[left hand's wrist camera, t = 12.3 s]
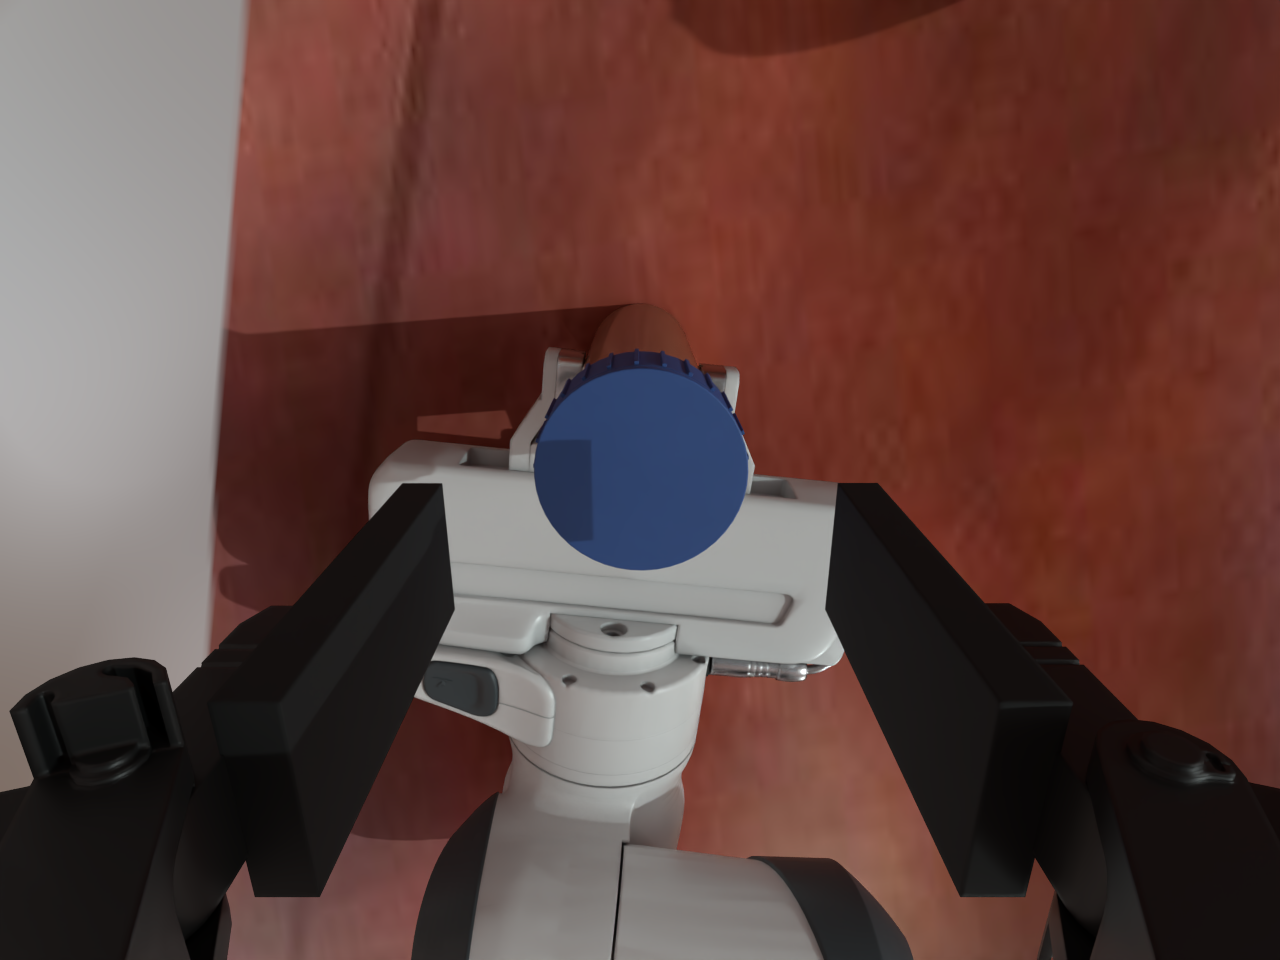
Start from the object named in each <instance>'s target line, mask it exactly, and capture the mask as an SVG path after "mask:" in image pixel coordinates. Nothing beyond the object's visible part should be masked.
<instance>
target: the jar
mask: <svg viewBox="0 0 1280 960" xmlns="http://www.w3.org/2000/svg"><path fill="white" fill-rule="evenodd" d="M635 349H639V351H646V352H656V353H660V352H661V351H665V354H666V355H669V356H673V357H676V358H678V359H681V360H683V361H684V360H685V359H687V360H689V363H690V364H691V365H692V366H694V367H695V368H697V369H698V370H699V368H698V366H697V363H696V360H695V358H694V355H693V353H692V350H691V348H690V345H689V343H688V340H687V337H686V335H685V333H684V331H683V329H682V327H681V325H680V324H679V322H678V321H677V320H676V319H675V318H674V317H673V316H672V315H671V314H669V313H668V312H666V311H665V310H663V309H661V308H659V307H656V306H653V305H649V304H631V305H627V306H624V307H621V308H619V309H617V310H615V311H614V312H612V313H611V314H610V315H609V316H607V317H606V318H605V319H604V321H603V322H602V323H601V324H600V326H599V328H598V329H597V331H596V334H595V336H594V339H593V341H592V344H591V347H590V349H589V352H588V355H587V357H586V360H585V363H584V365H583V368H582V370H584V369H585V366H586V364H588V363H590V365H591V364H593V363H595V362H597V361H599V360H601V359H604V358H607V357H609V354H610V353H613V354H614V355H616V354H620V353H625V352H635Z"/></svg>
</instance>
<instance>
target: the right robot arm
mask: <svg viewBox="0 0 1280 960" xmlns="http://www.w3.org/2000/svg"><path fill="white" fill-rule="evenodd" d="M585 359H586V351H580V350H572V349H564V348H555V347H549V348H548V349H547V351H546V353H545V359H544V367H543V383H542V393H541V394H540V396H539V397H538V398H537V400H536V401H535V403H534V404H533V406H532V407H531V409H530V410H529V412H528V413H527V414H526V416H525V417H524V419H523V420H522V422H521V423H520V425H519V426H518V428H517V429H516V431H515V433H514V435H513V436H512V438H511V440H510V449H505V448H495V447H485V446H476V445H466V444H456V443H446V442H436V441H427V440H410V441H407V442H405V443H404V444H403V445H401V446H400V447H399V448H398V449H397V450H395V451H394V452H393V453H392V454H390V455H389V456H388V457H387V458H386V459H385V460H384V461H383V463H382V464H381V465H380V466H379V467H378V468H377V469H376V471H375V472H374V474H373V476H372V478H371V481H370V484H369V490H368V510H369V520H370V519H371V518H372V517H373V516H374V514H375V513H376V512H377V511H378V510H379V509H380V508H381V507H382V505H383V504H384V503H385V502H386V501H387V500H388V499H389V498H390V496H391V495H392V494H393V493H394V492H395V491H396V490H397V489H398V487H399V486H400V485H401V484H402V483H442V485H443V495H444V505H445V515H446V525H447V535H448V544H449V554H450V564H451V574H452V584H453V594H454V604H455V611H454V613H453V615H452V617H451V619H450V621H449V623H448V625H447V628H446V630H445V632H444V634H443V636H442V638H441V640H440V642H439V645H438V647H437V649H436V651H435V653H434V655H433V657H432V659H431V662H430V664H429V666H428V668H427V670H426V672H425V674H424V676H423V679H422V681H421V683H420V685H419V687H418V689H417V691H416V693H415V696H414V697H415V698H418V699H421V700H423V701H426V702H429V703H432V704H435V705H437V706H440V707H443V708H446V709H448V710H451V711H454V712H456V713H459V714H462V715H464V716H467V717H469V718H472V719H474V720H476V721H479V722H481V723H484V724H486V725H488V726H490V727H492V728H494V729H496V730H499V731H501V732H503V733H504V734H506V735H508V736H509V739H510V743H511V747H512V753H513V760H512V762H511V764H510V766H509V769H508V771H507V774H506V777H505V782H504V787H503V792H502V793H499V792H497V793H495V794H494V795H492V796H491V797H490V798H488V799H487V800H486V801H485V802H484V803H483V804H481V805H480V806H479V807H478V808H477V809H476V810H475V811H474V812H473V814H472V815H471V816H470V817H469V818H468V819H467V820H466V821H465V822H464V823H463V824H462V825H461V827H460V828H459V829H458V830H457V831H456V832H455V833H454V834H453V835H452V837H451V838H450V839H449V841H448V842H447V844H446V846H445V847H444V849H443V851H442V853H441V854H440V856H439V858H438V860H437V862H436V864H435V867H434V869H433V871H432V874H431V876H430V879H429V882H428V885H427V888H426V891H425V894H424V897H423V901H422V904H421V908H420V912H419V916H418V920H417V925H416V930H415V936H414V942H413V949H412V958H411V960H913V956H912V953H911V950H910V947H909V944H908V942H907V940H906V938H905V936H904V935H903V934H902V932H901V931H900V929H899V928H898V926H897V925H896V924H895V922H894V921H893V920H892V918H891V917H890V916H889V914H888V913H887V912H886V911H885V910H884V908H883V907H882V906H881V905H880V904H879V902H878V901H877V900H876V899H875V898H874V897H873V896H872V895H871V894H870V893H869V892H868V891H867V890H866V889H865V888H864V887H863V886H862V884H861V883H860V882H859V881H858V880H857V879H856V878H854V877H853V876H852V875H851V874H850V873H849V872H848V871H847V870H846V869H845V868H844V867H842V866H841V865H840V864H839V863H838V862H836V861H835V860H832V859H829V858H801V857H769V856H751V857H749V858H738V857H730V856H722V855H714V854H706V853H698V852H690V851H683V850H676V849H677V845H678V840H679V835H680V830H681V825H682V819H683V813H684V790H683V784H682V779H681V773H682V771H683V770H684V768H685V766H686V764H687V762H688V760H689V758H690V756H691V754H692V751H693V748H694V744H695V740H696V734H697V728H698V722H699V716H700V710H701V704H702V698H703V692H704V686H705V678H706V676H708V675H719V676H730V677H767V678H775V679H776V680H779V681H785V682H798V681H804V680H805V679H806V677H807V675H808V674H815V673H818V672H821V671H823V670H826V669H827V668H829V667H831V666H833V665H835V664H837V663H838V662H839V660H840V659H841V657H842V655H843V653H844V649H843V647H842V645H841V642H840V640H839V638H838V636H837V634H836V632H835V630H834V628H833V625H832V623H831V621H830V619H829V617H828V615H827V613H826V611H825V604H826V594H827V584H828V574H829V564H830V554H831V544H832V534H833V525H834V515H835V505H836V495H837V485H838V483H836V482H827V481H817V480H807V479H797V478H788V477H778V476H768V475H759V474H753V473H754V467H755V465H754V463H753V460H752V458H751V455H750V453H749V450H748V448H747V445H746V443H745V445H746V451H747V453H748V455H749V460H748V471H749V472H748V482H747V488H746V492H745V496H744V500H743V502H742V505H741V507H740V510H739V512H738V514H737V515H736V517H735V519H734V521H733V522H732V524H731V525H730V526H729V528H728V529H727V530H726V532H725V533H724V534H723V535H722V536H721V537H720V538H719V539H718V540H717V541H716V542H715V543H714V544H713V545H711V546H710V547H709V548H708V549H707V550H705V551H704V552H702V553H700V554H699V555H697V556H696V557H694V558H692V559H689V560H687V561H685V562H683V563H680V564H677V565H674V566H671V567H667V568H662V569H657V570H645V571H641V570H626V569H620V568H615V567H611V566H608V565H604V564H602V563H599V562H597V561H595V560H592V559H590V558H589V557H587V556H585V555H583V554H582V553H580V552H579V551H577V550H576V549H575V548H573V547H572V546H570V545H569V544H568V543H567V542H566V541H565V540H564V539H563V538H562V537H561V536H560V535H559V534H558V533H557V531H556V530H555V529H554V528H553V526H552V525H551V523H550V522H549V520H548V519H547V517H546V515H545V513H544V511H543V509H542V507H541V504H540V502H539V499H538V495H537V492H536V487H535V480H534V468H533V464H534V459H535V451H536V447H537V444H538V443H536V438H537V436H538V434H539V432H540V430H541V429H540V428H541V426H542V425H543V423H544V421H546V418H545V415H546V413H547V411H548V409H549V407H550V405H551V403H552V400H553V399H554V398H555V399H557V398H558V396H559V395H560V393H561V391H562V390H563V388H564V386H565V383H566V381H567V380H568V379H569V378H570V379H571V380H572V379H573V378H574V377H575V376H576V375H577V374H578V373H580V372H581V371H582V368H583V365H584V363H585ZM698 368H699V370H700V371H701V372H702V373H703V374H706V373H708V374H709V375H710V377H711V379H712V382H713V383H714V384H715V385H716V386H717V388H718V389H719V390H720V392H723V391H724V392H725V394H726V396H727V398H728V400H729V402H730V404H731V406H732V408H733V411H732V414H733V413H735V406H736V400H737V393H738V387H739V371H738V370H737V368H736V367H731V366H722V365H711V364H700V363H699V366H698ZM539 429H540V430H539ZM742 436H743V435H742ZM743 439H744V438H743ZM744 442H745V440H744ZM807 664H812V665H807Z"/></svg>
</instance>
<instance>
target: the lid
mask: <svg viewBox="0 0 1280 960" xmlns="http://www.w3.org/2000/svg"><path fill="white" fill-rule="evenodd" d="M732 411H733V408H732V406H731V404H730V402H729V400H728V398H727V396H726V394H725V392H724V391H723V392H720V390H719V389H718V388H717V386H716V385H715V384H714V383H713V382H712V379H711V377H710V375H709V374H708V373H706V374H703V373H702V372H701V371H700V370H698V369H697V368H695V367H694V366H692V365H691V364H690V363H689V360H687V359H685V360H684V361H683V360H681V359H678V358H676V357H673V356H669V355H666V354H665V351H661V352H660V353H656V352H646V351H639V349H635V352H625V353H620V354H616V355H614V354H613V353H610V354H609V357H607V358H604V359H601V360H599V361H597V362H595V363H593V364H591V365H590V363H588V364H586V366H585V369H584V370H582V371H581V372H580V373H578V374H577V375H576V376H575V377H574V378H573V379H572V380H571V379H570V378H569V379H568V380H567V381H566V383H565V386H564V388H563V390H562V391H561V393H560V395H559V396H558V398H557V399H555V398H554V399H553V400H552V403H551V405H550V407H549V409H548V411H547V413H546V415H545V418H546V419H547V421H544V423H543V425H542V427H541V430H540V432H539V434H538V436H537V438H536V443H538V444H537V447H536V451H535V459H534V464H533V468H534V480H535V487H536V492H537V495H538V499H539V502H540V504H541V507H542V509H543V511H544V513H545V515H546V517H547V519H548V520H549V522H550V523H551V525H552V526H553V528H554V529H555V530H556V531H557V533H558V534H559V535H560V536H561V537H562V538H563V539H564V540H565V541H566V542H567V543H568V544H569V545H570V546H572V547H573V548H575V549H576V550H577V551H579V552H580V553H582V554H583V555H585V556H587V557H589V558H590V559H592V560H595V561H597V562H599V563H602V564H604V565H608V566H611V567H615V568H620V569H626V570H641V571H645V570H657V569H662V568H667V567H671V566H674V565H677V564H680V563H683V562H685V561H687V560H689V559H692V558H694V557H696V556H697V555H699V554H700V553H702V552H704V551H705V550H707V549H708V548H709V547H710V546H711V545H713V544H714V543H715V542H716V541H717V540H718V539H719V538H720V537H721V536H722V535H723V534H724V533H725V532H726V530H727V529H728V528H729V526H730V525H731V524H732V522H733V521H734V519H735V517H736V515H737V514H738V512H739V510H740V507H741V505H742V502H743V500H744V496H745V492H746V488H747V482H748V472H749V471H748V460H749V455H748V453H747V451H746V445H745V442H744V439H743V436H742V435H744V434H745V433H744V430H743V428H742V426H741V424H740V422H739V420H738V418H737V416H736V414H735V413H733V414H732Z"/></svg>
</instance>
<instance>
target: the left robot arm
mask: <svg viewBox="0 0 1280 960" xmlns="http://www.w3.org/2000/svg"><path fill="white" fill-rule="evenodd" d="M454 611H455V604H454V594H453V584H452V574H451V564H450V554H449V544H448V535H447V525H446V515H445V505H444V495H443V485H442V483H402V484H401V485H400V486H399V487H398V489H397V490H396V491H395V492H394V493H393V494H392V495H391V496H390V498H389V499H388V500H387V501H386V502H385V503H384V504H383V505H382V507H381V508H380V509H379V510H378V511H377V512H376V513H375V514H374V516H373V517H372V518H371V519H370V520H369V521H368V522H367V523H366V525H365V526H364V527H363V528H362V529H361V530H360V531H359V532H358V533H357V535H356V536H355V537H354V538H353V539H352V540H351V541H350V542H349V544H348V545H347V546H346V547H345V548H344V549H343V550H342V551H341V553H340V554H339V555H338V556H337V557H336V558H335V559H334V560H333V562H332V563H331V564H330V565H329V566H328V567H327V568H326V569H325V571H324V572H323V573H322V574H321V575H320V576H319V577H318V578H317V580H316V581H315V582H314V583H313V584H312V585H311V586H310V587H309V588H308V590H307V591H306V592H305V593H304V594H303V595H302V596H301V597H300V599H299V600H298V601H297V602H296V603H295V604H294V605H293V606H270V607H268V608H267V609H265V610H263V611H261V612H260V613H258V614H256V615H254V616H253V617H251V618H249V619H247V620H246V621H244V622H242V623H240V624H239V625H238V626H237V627H236V628H235V629H234V630H233V631H232V632H231V633H230V634H229V635H228V636H227V637H226V638H225V639H224V640H223V642H222V643H221V644H220V645H219V649H215V650H214V651H213V652H212V653H211V654H210V655H209V656H208V657H207V658H206V659H205V660H204V661H203V662H202V666H201V667H197V668H196V669H195V670H194V671H193V672H192V673H191V674H190V675H189V676H188V677H187V678H186V679H185V680H184V681H183V682H182V683H181V684H180V685H179V686H178V687H177V688H176V689H175V690H174V691H173V692H172V689H171V685H170V682H169V678H168V674H167V670H166V668H165V667H164V666H162V665H161V664H159V663H158V662H156V661H155V660H149V659H142V658H123V659H113V660H107V661H102V662H99V663H95V664H91V665H87V666H83V667H79V668H77V669H74V670H72V671H70V672H67V673H65V674H62V675H60V676H58V677H55V678H53V679H50V680H49V681H47V682H45V683H44V684H42V685H40V686H39V687H37V688H36V689H34V690H32V691H31V692H29V693H28V694H26V695H25V696H24V697H23V698H22V699H21V700H20V701H19V702H18V703H17V704H16V705H15V706H14V707H13V708H12V709H11V710H10V714H11V717H12V719H13V722H14V725H15V728H16V730H17V733H18V736H19V739H20V741H21V744H22V747H23V750H24V753H25V755H26V758H27V761H28V764H29V766H30V769H31V772H32V775H33V777H34V780H33V781H32V783H31V785H30V786H28V787H23V788H18V789H13V790H9V791H4V792H0V960H227V955H228V947H229V940H230V933H231V926H232V922H231V914H230V907H229V903H228V900H227V896H226V892H227V890H228V888H229V887H230V885H231V883H232V882H233V880H234V878H235V877H236V875H237V874H238V872H239V870H240V869H241V867H242V865H243V864H244V862H245V861H246V863H247V867H248V871H249V875H250V879H251V883H252V887H253V891H254V895H255V897H320V895H321V893H322V891H323V889H324V887H325V885H326V883H327V880H328V878H329V876H330V874H331V872H332V870H333V868H334V866H335V863H336V861H337V859H338V857H339V855H340V853H341V851H342V849H343V846H344V844H345V842H346V840H347V838H348V836H349V834H350V832H351V829H352V827H353V825H354V823H355V821H356V819H357V817H358V815H359V812H360V810H361V808H362V806H363V804H364V802H365V800H366V798H367V795H368V793H369V791H370V789H371V787H372V785H373V783H374V781H375V778H376V776H377V774H378V772H379V770H380V768H381V766H382V764H383V761H384V759H385V757H386V755H387V753H388V751H389V749H390V747H391V744H392V742H393V740H394V738H395V736H396V734H397V732H398V730H399V727H400V725H401V723H402V721H403V719H404V717H405V715H406V713H407V710H408V708H409V706H410V704H411V702H412V700H413V698H414V696H415V693H416V691H417V689H418V687H419V685H420V683H421V681H422V679H423V676H424V674H425V672H426V670H427V668H428V666H429V664H430V662H431V659H432V657H433V655H434V653H435V651H436V649H437V647H438V645H439V642H440V640H441V638H442V636H443V634H444V632H445V630H446V628H447V625H448V623H449V621H450V619H451V617H452V615H453V613H454ZM825 611H826V613H827V615H828V617H829V619H830V621H831V623H832V625H833V628H834V630H835V632H836V634H837V636H838V638H839V640H840V642H841V645H842V647H843V649H844V651H845V653H846V655H847V657H848V659H849V662H850V664H851V666H852V668H853V670H854V672H855V674H856V676H857V679H858V681H859V683H860V685H861V687H862V689H863V691H864V693H865V696H866V698H867V700H868V702H869V704H870V706H871V708H872V710H873V713H874V715H875V717H876V719H877V721H878V723H879V725H880V727H881V730H882V732H883V734H884V736H885V738H886V740H887V742H888V744H889V747H890V749H891V751H892V753H893V755H894V757H895V759H896V761H897V764H898V766H899V768H900V770H901V772H902V774H903V776H904V778H905V781H906V783H907V785H908V787H909V789H910V791H911V793H912V795H913V798H914V800H915V802H916V804H917V806H918V808H919V810H920V812H921V815H922V817H923V819H924V821H925V823H926V825H927V827H928V829H929V832H930V834H931V836H932V838H933V840H934V842H935V844H936V846H937V849H938V851H939V853H940V855H941V857H942V859H943V861H944V863H945V866H946V868H947V870H948V872H949V874H950V876H951V878H952V880H953V883H954V885H955V887H956V889H957V891H958V893H959V895H960V897H1025V895H1026V891H1027V887H1028V883H1029V879H1030V875H1031V871H1032V867H1033V863H1034V859H1035V858H1036V860H1037V862H1038V863H1039V865H1040V866H1041V868H1042V870H1043V871H1044V873H1045V875H1046V876H1047V878H1048V879H1049V881H1050V883H1051V884H1052V886H1053V888H1054V889H1055V892H1054V896H1053V900H1052V903H1051V907H1050V911H1049V915H1048V918H1047V922H1046V926H1045V930H1044V933H1043V937H1042V941H1041V945H1040V948H1039V952H1038V957H1037V960H1051V958H1052V957H1053V960H1280V789H1278V788H1273V787H1269V786H1264V785H1259V784H1254V783H1250V782H1248V780H1247V778H1246V777H1245V776H1244V774H1243V773H1242V772H1241V771H1240V769H1239V768H1238V767H1237V766H1236V765H1235V763H1234V762H1233V761H1232V760H1231V759H1230V758H1228V757H1227V756H1225V755H1224V754H1223V753H1221V752H1220V751H1219V750H1217V749H1216V748H1214V747H1213V746H1212V745H1210V744H1209V743H1207V742H1205V741H1203V740H1201V739H1198V738H1196V737H1194V736H1192V735H1190V734H1188V733H1186V732H1184V731H1182V730H1179V729H1176V728H1172V727H1169V726H1166V725H1162V724H1159V723H1156V722H1150V721H1141V720H1138V719H1137V718H1136V717H1135V716H1134V715H1133V714H1132V713H1131V712H1130V711H1129V710H1128V709H1127V708H1126V707H1125V706H1124V705H1123V704H1122V703H1121V702H1120V701H1119V700H1118V699H1117V698H1116V697H1115V696H1114V695H1113V694H1112V693H1111V692H1110V691H1109V690H1108V689H1107V688H1106V687H1105V686H1104V685H1103V684H1102V683H1101V682H1100V681H1099V680H1098V679H1097V678H1096V677H1095V676H1094V675H1093V674H1092V673H1091V672H1090V671H1089V670H1088V669H1087V668H1086V667H1085V666H1084V665H1080V664H1079V660H1078V659H1077V658H1076V657H1075V656H1074V655H1073V654H1072V653H1071V651H1070V650H1069V649H1068V648H1067V647H1062V642H1061V641H1060V640H1059V639H1058V638H1057V637H1056V636H1055V635H1054V634H1053V633H1052V632H1051V631H1050V630H1049V629H1048V628H1047V627H1046V626H1045V625H1044V624H1043V623H1042V622H1041V621H1039V620H1037V619H1036V618H1034V617H1032V616H1030V615H1029V614H1027V613H1025V612H1023V611H1022V610H1020V609H1018V608H1016V607H1015V606H1013V605H1011V604H1009V603H984V602H983V601H982V600H981V599H980V597H979V596H978V595H977V594H976V593H975V592H974V591H973V590H972V588H971V587H970V586H969V585H968V584H967V583H966V582H965V581H964V580H963V578H962V577H961V576H960V575H959V574H958V573H957V572H956V571H955V569H954V568H953V567H952V566H951V565H950V564H949V563H948V562H947V560H946V559H945V558H944V557H943V556H942V555H941V554H940V553H939V551H938V550H937V549H936V548H935V547H934V546H933V545H932V544H931V542H930V541H929V540H928V539H927V538H926V537H925V536H924V535H923V533H922V532H921V531H920V530H919V529H918V528H917V527H916V526H915V525H914V523H913V522H912V521H911V520H910V519H909V518H908V517H907V516H906V514H905V513H904V512H903V511H902V510H901V509H900V508H899V507H898V505H897V504H896V503H895V502H894V501H893V500H892V499H891V498H890V496H889V495H888V494H887V493H886V492H885V491H884V490H883V489H882V487H881V486H880V485H879V484H878V483H838V485H837V495H836V505H835V515H834V525H833V534H832V544H831V554H830V564H829V574H828V584H827V594H826V604H825Z"/></svg>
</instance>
